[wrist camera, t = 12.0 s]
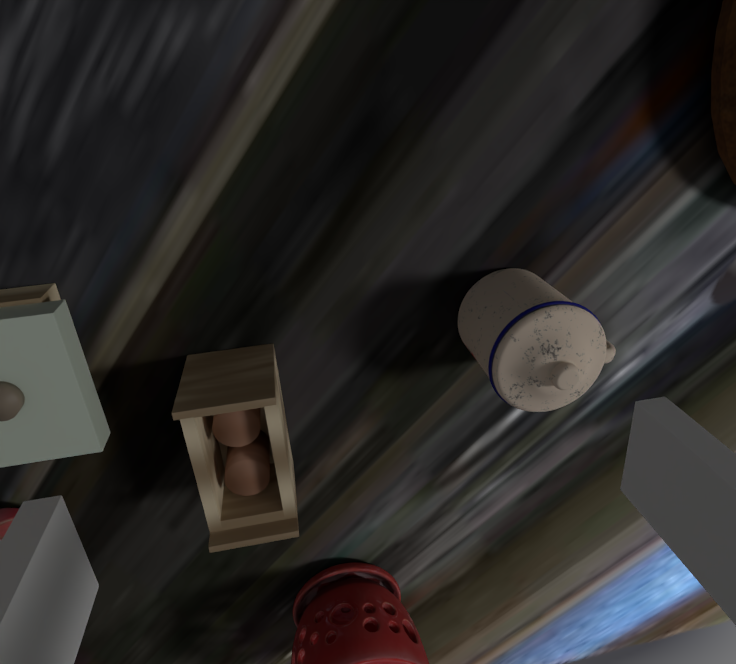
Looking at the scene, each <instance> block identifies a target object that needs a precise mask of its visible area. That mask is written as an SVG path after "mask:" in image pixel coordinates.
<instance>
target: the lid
mask: <svg viewBox="0 0 736 664" xmlns="http://www.w3.org/2000/svg"><path fill="white" fill-rule="evenodd" d="M109 435H110V430H109V427H108V424H107V421H106V418H105V415H104V412H103V409H102V406H101V403H100V400H99V397H98V395H97V392H96V389H95V386H94V383H93V380H92V377H91V374H90V371H89V368H88V365H87V362H86V359H85V356H84V353H83V351H82V348H81V345H80V342H79V339H78V336H77V333H76V330H75V327H74V324H73V321H72V318H71V315H70V312H69V309H68V306H67V304H66V301H65V300H57V301H49V302H41V303H33V304H25V305H16V306H8V307H0V467H7V466H13V465H19V464H26V463H32V462H38V461H45V460H51V459H58V458H64V457H70V456H77V455H83V454H90V453H96V452H102V451H103V449H104V447H105V444H106V442H107V440H108V437H109Z"/></svg>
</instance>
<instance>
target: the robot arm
mask: <svg viewBox="0 0 736 664" xmlns="http://www.w3.org/2000/svg"><path fill="white" fill-rule="evenodd" d="M620 490H621V491H622V492H623V493H624V494H625V496H626V497H627V498H628V499H629V500H630V502H631V503H632V504H633V505H634V506H635V507H636V509H637V510H638V511H639V512H640V513H641V514H642V516H643V517H644V518H645V519H646V520H647V521H648V523H649V524H650V525H651V526H652V527H653V529H654V530H655V531H656V532H657V533H658V534H659V536H660V537H661V538H662V539H663V540H664V541H665V543H666V544H667V545H668V546H669V547H670V549H671V550H672V551H673V552H674V553H675V554H676V556H677V557H678V558H679V559H680V560H681V561H682V563H683V564H684V565H685V566H686V567H687V568H688V570H689V571H690V572H691V573H692V574H693V576H694V577H695V578H696V579H697V580H698V581H699V583H700V584H701V585H702V586H703V587H704V588H705V590H706V591H707V592H708V593H709V594H710V596H711V597H712V598H713V599H714V600H715V601H716V603H717V604H718V605H719V606H720V607H721V608H722V610H723V611H724V612H725V613H726V614H727V615H728V617H729V618H730V619H731V620H732V621H733V623H734V624H735V625H736V454H735V453H734V452H732V451H731V450H730V449H729V448H728V447H726V446H725V445H724V444H723V443H721V442H720V441H719V440H718V439H716V438H715V437H714V436H713V435H712V434H710V433H709V432H708V431H707V430H705V429H704V428H703V427H702V426H700V425H699V424H698V423H697V422H695V421H694V420H693V419H692V418H691V417H689V416H688V415H687V414H686V413H684V412H683V411H682V410H681V409H679V408H678V407H677V406H676V405H675V404H673V403H672V402H671V401H670V400H668V399H667V398H666V397H660V398H654V399H648V400H642V401H636V403H635V408H634V414H633V420H632V426H631V431H630V437H629V443H628V449H627V454H626V460H625V466H624V472H623V477H622V483H621V489H620ZM98 587H99V584H98V582H97V580H96V577H95V575H94V572H93V570H92V568H91V565H90V563H89V560H88V558H87V555H86V553H85V551H84V548H83V546H82V543H81V541H80V539H79V536H78V534H77V531H76V529H75V526H74V524H73V522H72V519H71V517H70V514H69V512H68V509H67V507H66V505H65V502H64V500H63V497H62V495H61V496H55V497H49V498H43V499H37V500H31V501H25V502H23V503H22V505H21V507H20V508H19V510H18V512H17V514H16V516H15V517H14V519H13V521H12V523H11V524H10V526H9V528H8V530H7V532H6V533H5V535H4V537H3V539H2V541H1V542H0V664H74V662H75V659H76V655H77V652H78V649H79V646H80V643H81V640H82V637H83V634H84V631H85V628H86V624H87V621H88V618H89V615H90V612H91V609H92V606H93V603H94V600H95V596H96V593H97V590H98Z"/></svg>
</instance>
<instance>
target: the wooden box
mask: <svg viewBox="0 0 736 664" xmlns="http://www.w3.org/2000/svg"><path fill="white" fill-rule="evenodd" d="M172 416H173V420H180V422H181V426H182V430H183V434H184V437H185V441H186V445H187V448H188V452H189V456H190V460H191V463H192V467H193V471H194V474H195V478H196V482H197V486H198V489H199V493H200V497H201V500H202V504H203V508H204V512H205V515H206V519H207V523H208V527H209V530H210V539H209V551H210V553H211V552H217V551H222V550H228V549H233V548H239V547H244V546H250V545H255V544H261V543H266V542H272V541H277V540H283V539H288V538H293V537H299V529H298V516H297V503H296V489H295V476H294V465H293V459H292V453H291V447H290V441H289V435H288V429H287V423H286V417H285V411H284V405H283V399H282V393H281V387H280V381H279V375H278V369H277V363H276V357H275V350H274V344H265V345H258V346H251V347H244V348H237V349H229V350H222V351H215V352H208V353H201V354H193V355H187V358H186V362H185V366H184V369H183V373H182V377H181V380H180V384H179V388H178V391H177V395H176V399H175V403H174V406H173V410H172Z"/></svg>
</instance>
